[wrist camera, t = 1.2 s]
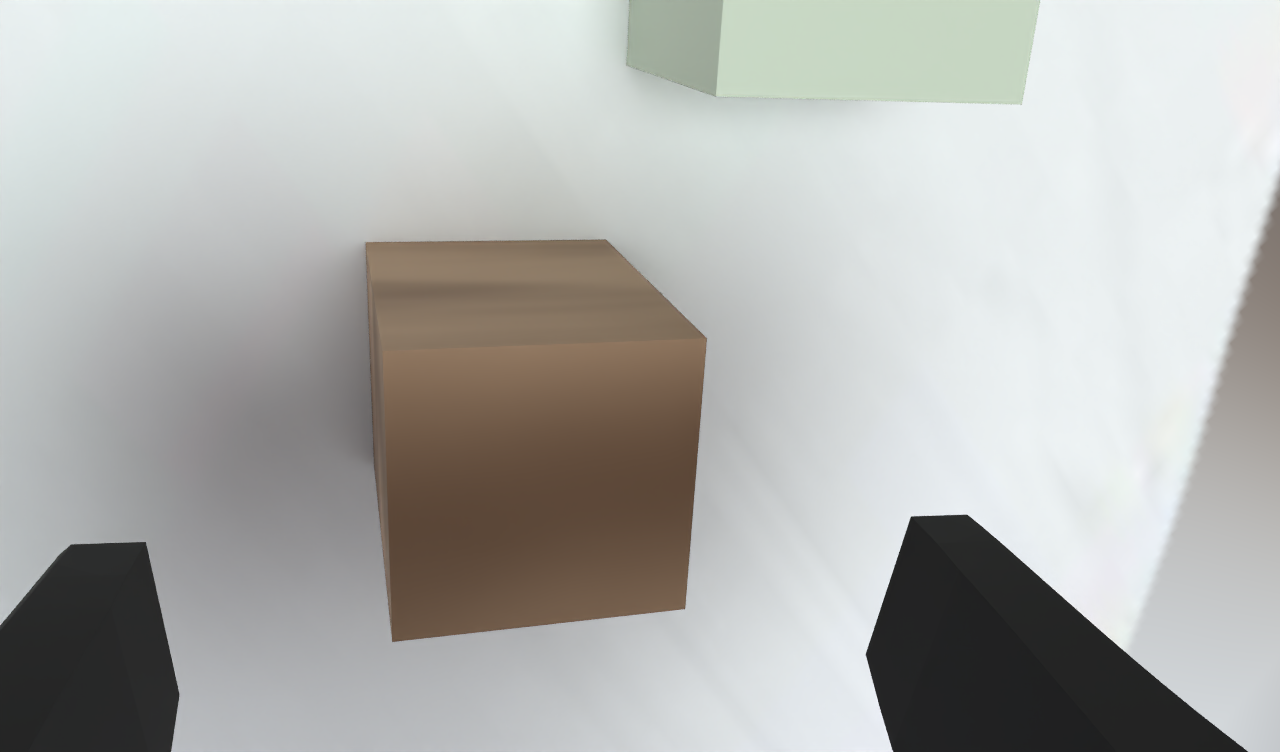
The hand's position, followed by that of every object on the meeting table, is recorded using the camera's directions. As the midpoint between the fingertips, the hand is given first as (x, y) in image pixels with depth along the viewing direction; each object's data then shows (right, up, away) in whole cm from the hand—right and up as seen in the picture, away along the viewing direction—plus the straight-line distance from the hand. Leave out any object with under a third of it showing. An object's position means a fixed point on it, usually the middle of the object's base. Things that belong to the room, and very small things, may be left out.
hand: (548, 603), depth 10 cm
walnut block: (-2, +3, +10) cm, 11 cm away
